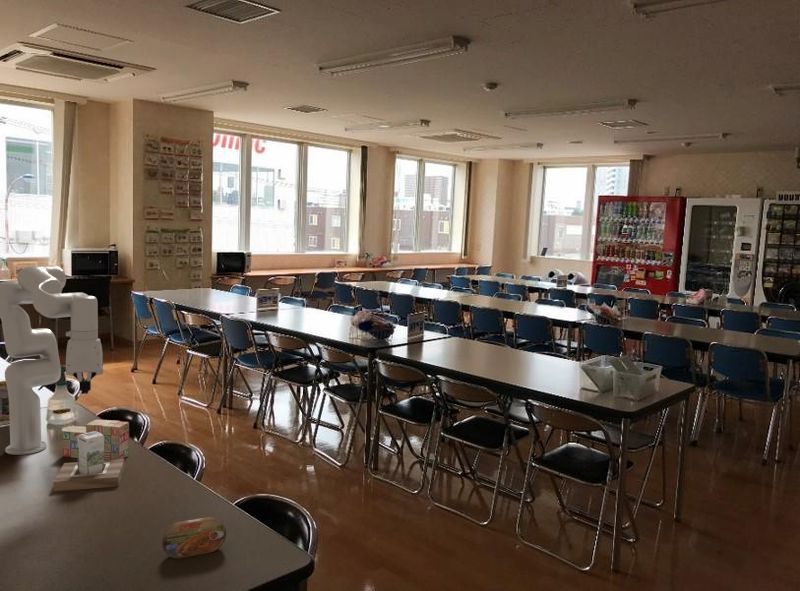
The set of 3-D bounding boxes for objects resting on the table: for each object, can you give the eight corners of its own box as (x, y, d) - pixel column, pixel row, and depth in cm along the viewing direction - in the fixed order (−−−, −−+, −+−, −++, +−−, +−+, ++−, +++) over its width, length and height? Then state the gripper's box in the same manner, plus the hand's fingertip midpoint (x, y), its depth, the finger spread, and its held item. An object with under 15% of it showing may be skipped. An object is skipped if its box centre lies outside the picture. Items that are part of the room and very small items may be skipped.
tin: (162, 561, 157) (162, 527, 156) (161, 555, 160) (161, 522, 159) (226, 550, 163) (226, 518, 162) (224, 544, 166) (224, 513, 165)
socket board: (64, 472, 210) (64, 462, 210) (124, 467, 216) (124, 458, 215) (53, 491, 195) (53, 481, 195) (118, 486, 200) (118, 476, 200)
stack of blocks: (62, 457, 224) (61, 422, 223) (73, 451, 230) (72, 417, 229) (119, 461, 221) (118, 426, 220) (129, 455, 227) (129, 421, 226)
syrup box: (95, 474, 209) (94, 430, 208) (104, 478, 206) (104, 434, 205) (77, 479, 205) (76, 434, 203) (87, 484, 201) (86, 438, 200)
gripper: (55, 337, 196) (56, 397, 199) (108, 337, 201) (109, 395, 203) (60, 333, 204) (61, 390, 206) (112, 333, 208) (112, 389, 210)
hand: (85, 392), depth 204 cm, fingers closed
